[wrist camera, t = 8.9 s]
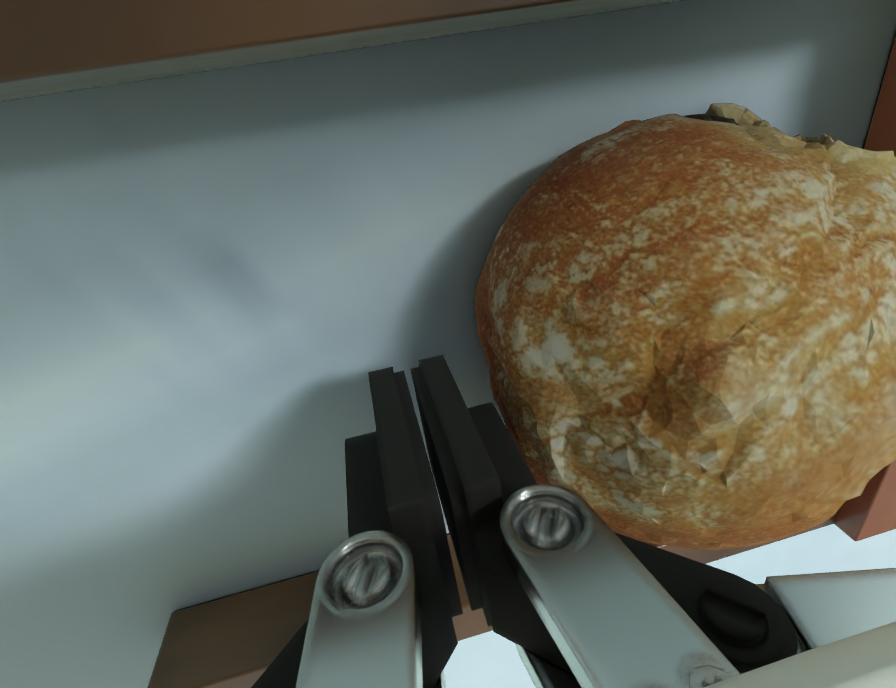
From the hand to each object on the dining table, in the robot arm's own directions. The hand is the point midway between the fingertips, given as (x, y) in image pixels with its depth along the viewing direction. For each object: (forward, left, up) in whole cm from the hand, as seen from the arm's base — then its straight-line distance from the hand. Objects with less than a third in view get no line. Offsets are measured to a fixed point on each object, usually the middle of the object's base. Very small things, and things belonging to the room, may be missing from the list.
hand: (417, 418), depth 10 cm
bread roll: (-7, 0, -2) cm, 7 cm away
